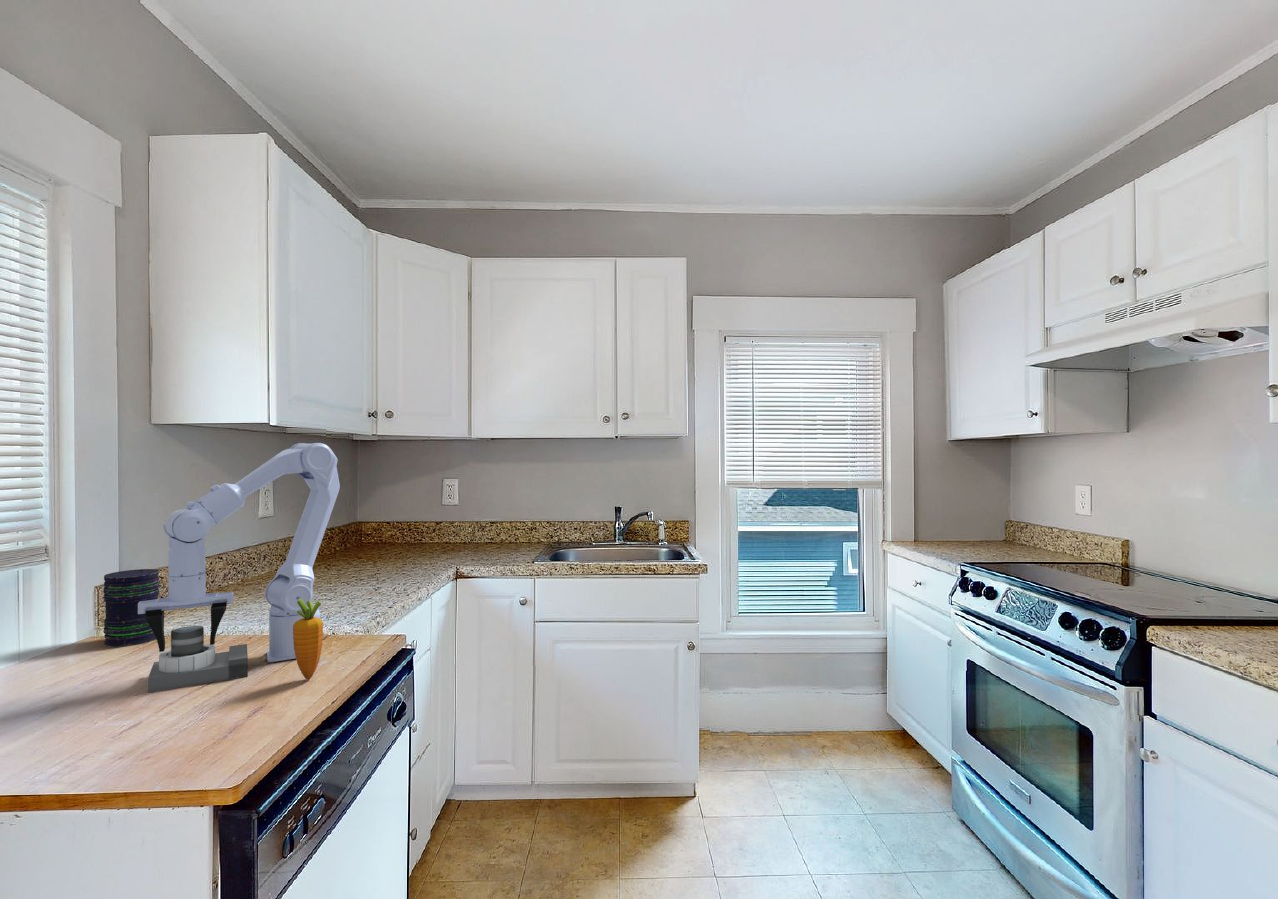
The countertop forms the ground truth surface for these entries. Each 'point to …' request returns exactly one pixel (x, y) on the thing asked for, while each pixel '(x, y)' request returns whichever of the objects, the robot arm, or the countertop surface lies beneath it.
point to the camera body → (198, 668)
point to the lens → (187, 641)
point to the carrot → (308, 638)
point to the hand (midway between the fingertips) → (187, 646)
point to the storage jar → (128, 606)
